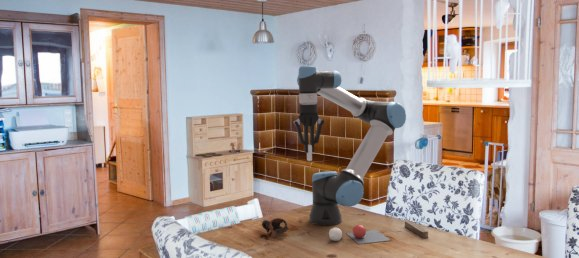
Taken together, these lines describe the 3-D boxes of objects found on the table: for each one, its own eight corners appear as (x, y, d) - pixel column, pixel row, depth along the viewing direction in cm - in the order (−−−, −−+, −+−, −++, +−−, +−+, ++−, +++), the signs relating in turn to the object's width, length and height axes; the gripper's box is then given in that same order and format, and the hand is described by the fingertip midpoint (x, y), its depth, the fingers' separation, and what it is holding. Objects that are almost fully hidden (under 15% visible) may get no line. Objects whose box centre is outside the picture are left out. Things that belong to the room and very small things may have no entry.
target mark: (358, 244, 190) (358, 243, 190) (346, 233, 204) (346, 233, 204) (390, 240, 193) (390, 240, 193) (376, 230, 207) (376, 229, 207)
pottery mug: (290, 232, 209) (291, 219, 204) (282, 248, 202) (284, 234, 197) (264, 224, 211) (265, 211, 207) (256, 239, 204) (257, 226, 199)
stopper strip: (422, 238, 196) (422, 232, 195) (404, 226, 211) (404, 221, 211) (428, 237, 196) (428, 231, 196) (409, 226, 212) (409, 220, 211)
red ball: (355, 220, 198) (366, 223, 199) (349, 229, 200) (361, 232, 202) (357, 230, 193) (369, 233, 194) (351, 239, 196) (363, 242, 197)
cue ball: (340, 223, 195) (345, 235, 196) (328, 226, 198) (333, 237, 199) (337, 230, 191) (342, 242, 192) (325, 232, 193) (329, 244, 194)
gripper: (295, 104, 191) (296, 162, 193) (326, 103, 194) (327, 160, 196) (290, 103, 198) (292, 159, 201) (320, 102, 201) (321, 158, 204)
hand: (309, 160), depth 198 cm, fingers closed
